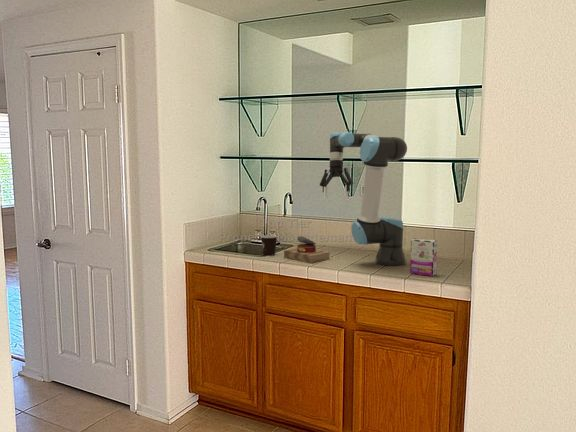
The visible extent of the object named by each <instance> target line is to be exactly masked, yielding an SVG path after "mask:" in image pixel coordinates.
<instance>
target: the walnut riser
mask: <svg viewBox="0 0 576 432" xmlns="http://www.w3.org/2000/svg"><path fill="white" fill-rule="evenodd" d="M283 256H284V259H288V260H293V261H298V262H303V263H307V264H315V263H318V262H319V263H320V262H325V261H328V260H329V261H330V251H324V250H320V249H316V252H313V253H301V252H298V251H297V247H294V248H289V249H284V250H283Z"/></svg>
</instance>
